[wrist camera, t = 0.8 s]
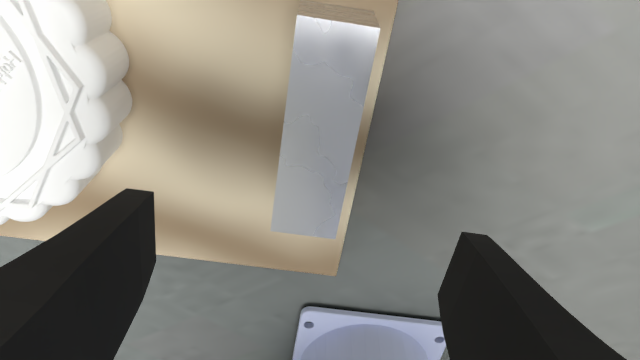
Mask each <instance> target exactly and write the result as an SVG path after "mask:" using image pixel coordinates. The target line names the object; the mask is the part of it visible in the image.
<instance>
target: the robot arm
mask: <svg viewBox="0 0 640 360" xmlns="http://www.w3.org/2000/svg"><path fill="white" fill-rule="evenodd" d="M155 263H156V241H155V211H154V192H152V191H145V190H137V189H129V188H126V189H125V190H123V191H121V192H120V193H118V194H117V195H115V196H114V197H112V198H111V199H109V200H108V201H106V202H105V203H103V204H102V205H100V206H99V207H98V208H96V209H95V210H93V211H92V212H90V213H89V214H87V215H86V216H84V217H83V218H81V219H80V220H78V221H77V222H75V223H73V224H72V225H70V226H69V227H67V228H66V229H64V230H63V231H61V232H60V233H58V234H57V235H55V236H53V237H52V238H50V239H48V240H47V241H45V242H43V243H42V244H40V245H38V246H36V247H35V248H33V249H31V250H30V251H28V252H26V253H25V254H23V255H21V256H19V257H18V258H16V259H14V260H13V261H11V262H9V263H7V264H5V265H4V266H2V267H0V360H113V359H114V357H115V355H116V353H117V351H118V349H119V347H120V345H121V343H122V341H123V339H124V337H125V335H126V333H127V331H128V329H129V327H130V325H131V323H132V321H133V319H134V317H135V315H136V313H137V311H138V309H139V307H140V304H141V302H142V300H143V298H144V295H145V292H146V289H147V287H148V284H149V281H150V278H151V275H152V272H153V269H154V266H155ZM438 300H439V308H440V316H441V321H433V320H424V319H416V318H407V317H398V316H390V315H381V314H373V313H364V312H355V311H347V310H338V309H330V308H321V307H313V306H308V307H305V308H303V309H302V310H301V313H300V319H299V324H298V330H297V335H296V340H295V346H294V351H293V357H292V360H440V359H441V356H442V354H443V352H444V349H445V347H446V346H447V350H448V353H449V357H450V360H626V359H625V358H624V357H622V356H621V355H620V354H618V353H617V352H616V351H614V350H613V349H612V348H610V347H609V346H608V345H607V344H605V343H604V342H603V341H602V340H601V339H599V338H598V337H597V336H596V335H594V334H593V333H592V332H591V331H590V330H589V329H587V328H586V327H585V326H584V325H583V324H582V323H580V322H579V321H578V320H577V319H576V318H575V317H574V316H572V315H571V314H570V313H569V312H568V311H567V310H566V309H565V308H563V307H562V306H561V305H560V304H559V303H558V302H557V301H556V300H555V299H554V298H553V297H551V296H550V295H549V294H548V293H547V292H546V291H545V290H544V289H543V288H542V287H541V286H540V285H539V284H538V283H537V282H536V281H535V280H534V279H533V278H532V277H531V276H530V275H528V274H527V273H526V272H525V271H524V270H523V269H522V268H521V267H520V266H519V265H518V264H517V263H516V262H515V261H514V260H513V259H512V258H511V257H510V256H509V255H508V254H507V253H506V252H505V251H504V250H503V249H502V248H501V247H500V246H499V245H498V244H496V243H495V242H494V241H493V240H492V239H491V238H490V237H488V236H487V235H482V234H475V233H467V232H462V233H461V235H460V238H459V241H458V243H457V246H456V248H455V251H454V254H453V256H452V259H451V261H450V264H449V267H448V269H447V272H446V274H445V277H444V280H443V282H442V285H441V287H440V290H439V293H438ZM309 321H310V322H311V323H307V322H309Z"/></svg>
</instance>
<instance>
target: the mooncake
mask: <svg viewBox="0 0 640 360" xmlns="http://www.w3.org/2000/svg"><path fill="white" fill-rule="evenodd" d="M111 22H112V17H111V11H110V8H109V5H108V3H107V1H106V0H0V225H2V224H4V223H5V222H6V221H8V220H9V219H13V220H16V221H20V222H30V221H35V220H37V219H39V218H41V217H42V216H44V215H45V214H46V213H47V212H48V211H49V210H50V208H51V207H52V206H60V205H65V204H67V203H69V202H71V201H73V200H74V199H75V198H76V197H77V196H78V195H79V193H80V192H81V191H82V190H83V189H84V188H85V187H86V186H87V185H88V183H89V182H90V181H91V180H92V179H93V178H94V177H95V176H96V175H97V173H98V172H99V171H100V169H101V167H102V165H103V164H104V163H105V162H106V161H107V160H108V159H109V158H110V157H111V156H112V154H113V153H114V152H115V151H116V150H117V149H118V148H119V146H120V145H121V143H122V139H123V133H122V129H121V126H120V123H121V122H122V121H123V120H124V119H125V118H126V117H127V116H128V114H129V113H130V111H131V108H132V96H131V93H130V91H129V89H128V87H127V85H126V84H125V83H124V82H123V81H122V78H124V76H125V75H126V73H127V71H128V68H129V57H128V53H127V50H126V48H125V46H124V45H123V43H122V42H121V41H120V39H119V38H118V37H117V36H115V35H114V34H113V33H111V32H110V31H109V30H110V27H111Z"/></svg>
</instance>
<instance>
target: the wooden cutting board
mask: <svg viewBox="0 0 640 360" xmlns="http://www.w3.org/2000/svg"><path fill="white" fill-rule="evenodd" d="M106 1H107V3H108V5H109V8H110V11H111V17H112V22H111V27H110V30H109V31H110V32H111V33H113V34H114V35H115V36H117V37H118V38H119V39H120V41H121V42H122V43H123V45H124V46H125V48H126V50H127V53H128V57H129V68H128V71H127V73H126V75H125V76H124V78H122V81H123V82H124V83H125V84H126V85H127V87H128V89H129V91H130V93H131V96H132V108H131V111H130V113H129V114H128V116H127V117H126V118H125V119H124V120H123V121H122V122H121V123H120V126H121V129H122V133H123V139H122V143H121V145H120V146H119V148H118V149H117V150H116V151H115V152H114V153H113V154H112V156H111V157H110V158H109V159H108V160H107V161H106V162H105V163H104V164H103V165H102V167H101V169H100V171H99V172H98V173H97V175H96V176H95V177H94V178H93V179H92V180H91V181H90V182H89V183H88V185H87V186H86V187H85V188H84V189H83V190H82V191H81V192H80V193H79V195H78V196H77V197H76V198H75V199H74V200H73V201H71V202H69V203H67V204H65V205H60V206H52V207H51V208H50V210H49V211H48V212H47V213H46V214H45V215H44V216H42V217H41V218H39V219H37V220H35V221H30V222H20V221H16V220H13V219H9V220H8V221H6V222H5V223H4V224H2V225H0V236H9V237H17V238H25V239H33V240H41V241H47V240H48V239H50V238H52V237H53V236H55V235H57V234H58V233H60V232H61V231H63V230H64V229H66V228H67V227H69V226H70V225H72V224H73V223H75V222H77V221H78V220H80V219H81V218H83V217H84V216H86V215H87V214H89V213H90V212H92V211H93V210H95V209H96V208H98V207H99V206H100V205H102V204H103V203H105V202H106V201H108V200H109V199H111V198H112V197H114V196H115V195H117V194H118V193H120V192H121V191H123V190H125V189H126V188H129V189H137V190H145V191H152V192H154V211H155V241H156V254H157V255H165V256H173V257H182V258H190V259H198V260H206V261H214V262H223V263H231V264H239V265H247V266H256V267H264V268H272V269H280V270H289V271H297V272H305V273H313V274H322V275H330V276H336V274H337V270H338V265H339V261H340V257H341V252H342V248H343V243H344V239H345V234H346V230H347V226H348V221H349V217H350V212H351V208H352V203H353V199H354V195H355V190H356V186H357V181H358V177H359V172H360V168H361V164H362V159H363V155H364V150H365V146H366V141H367V137H368V133H369V128H370V124H371V119H372V115H373V110H374V106H375V102H376V97H377V93H378V88H379V84H380V79H381V75H382V71H383V66H384V62H385V57H386V53H387V48H388V44H389V40H390V35H391V31H392V26H393V22H394V17H395V13H396V9H397V4H398V0H106Z"/></svg>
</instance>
